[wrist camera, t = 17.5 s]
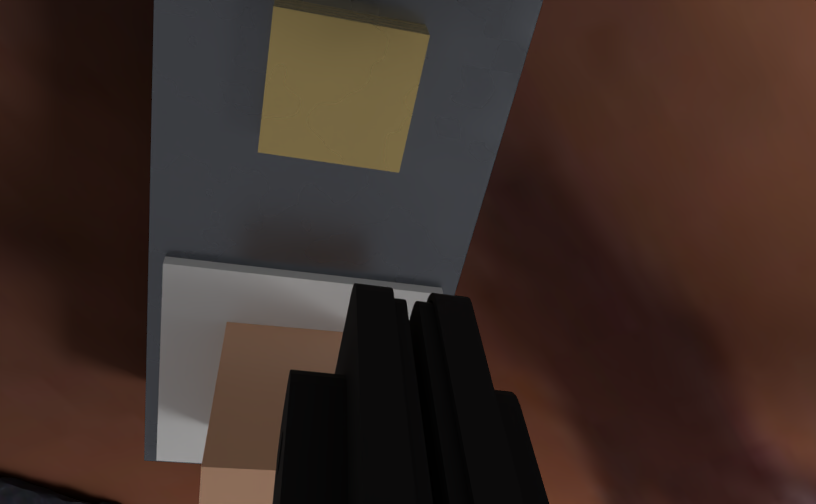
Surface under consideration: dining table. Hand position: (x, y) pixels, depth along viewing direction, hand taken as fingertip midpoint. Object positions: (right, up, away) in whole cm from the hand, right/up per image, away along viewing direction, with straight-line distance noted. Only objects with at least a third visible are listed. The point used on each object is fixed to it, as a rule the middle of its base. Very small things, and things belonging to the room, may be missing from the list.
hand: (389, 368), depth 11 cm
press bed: (-3, +4, +16) cm, 16 cm away
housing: (-4, -3, +15) cm, 16 cm away
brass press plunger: (-2, +8, +12) cm, 15 cm away
